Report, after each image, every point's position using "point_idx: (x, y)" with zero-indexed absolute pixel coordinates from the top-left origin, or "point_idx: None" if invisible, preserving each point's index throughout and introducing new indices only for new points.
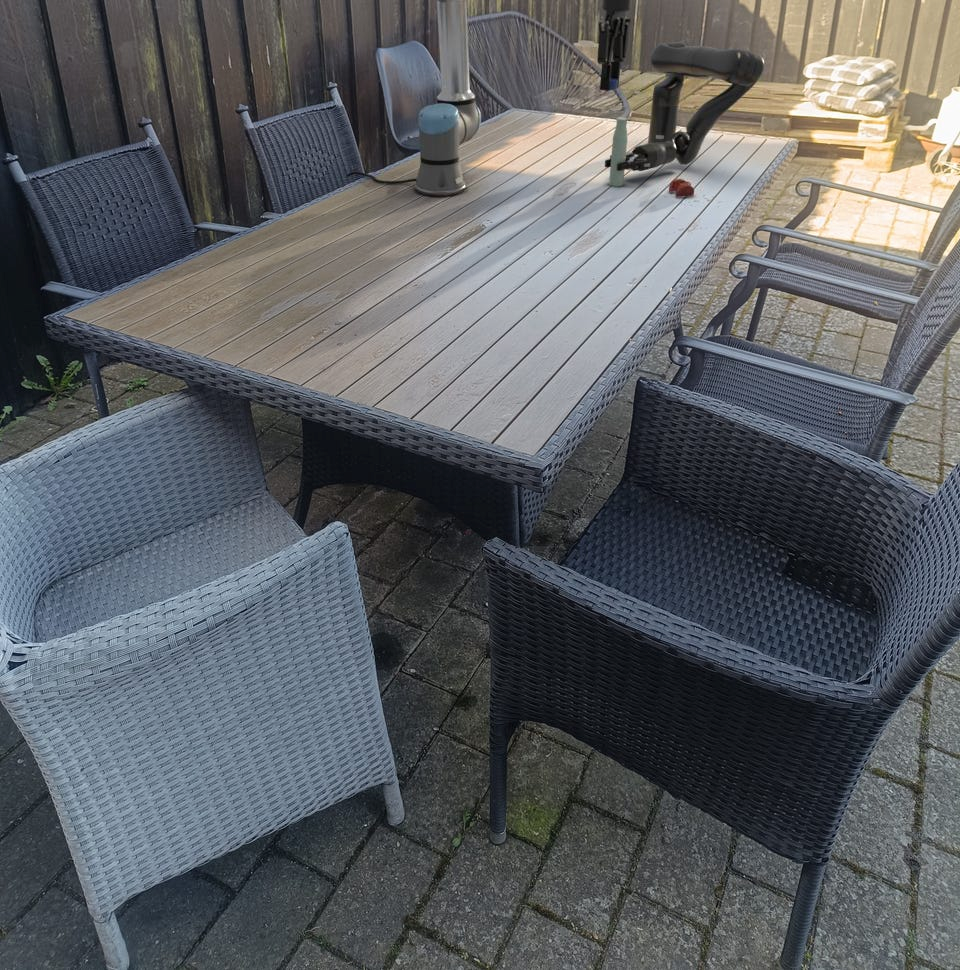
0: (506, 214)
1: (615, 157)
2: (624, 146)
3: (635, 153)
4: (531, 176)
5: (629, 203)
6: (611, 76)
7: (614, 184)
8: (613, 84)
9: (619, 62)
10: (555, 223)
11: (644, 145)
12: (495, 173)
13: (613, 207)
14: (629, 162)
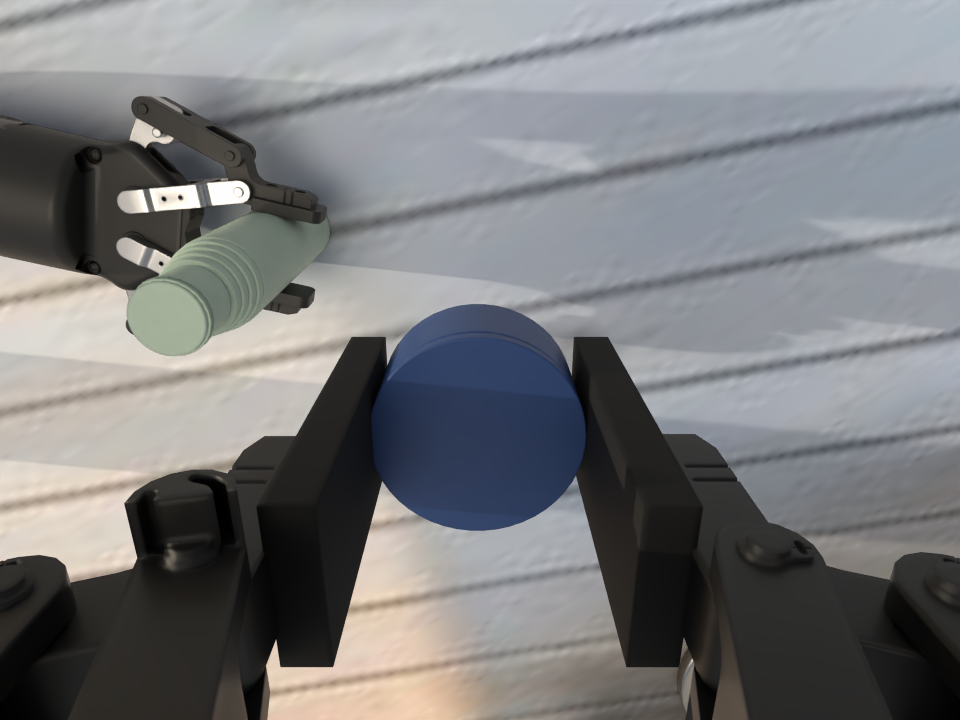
0: (921, 364)
1: (296, 254)
2: (244, 229)
3: (89, 240)
4: (439, 545)
5: (514, 11)
6: (370, 488)
7: (326, 220)
8: (534, 336)
9: (286, 521)
10: (952, 142)
11: (21, 211)
12: (491, 648)
13: (614, 45)
14: (247, 184)
